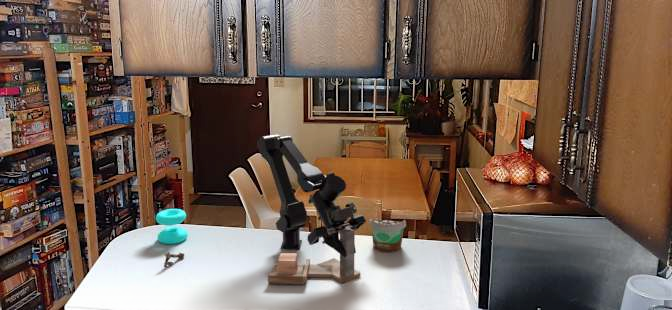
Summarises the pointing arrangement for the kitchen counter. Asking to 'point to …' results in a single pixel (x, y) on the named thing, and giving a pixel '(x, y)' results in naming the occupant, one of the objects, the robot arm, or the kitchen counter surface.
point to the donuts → (171, 233)
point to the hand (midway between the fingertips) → (350, 254)
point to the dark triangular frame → (168, 256)
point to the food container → (387, 234)
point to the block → (287, 263)
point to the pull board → (323, 265)
